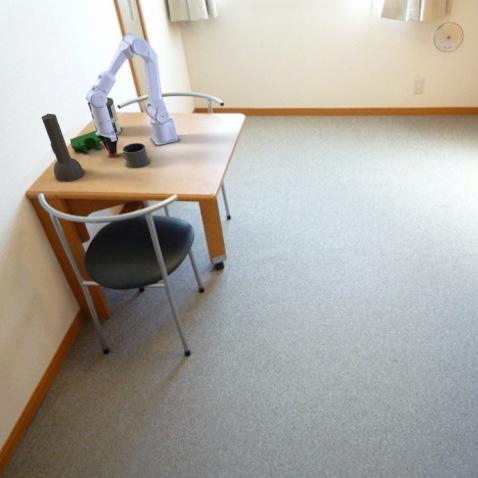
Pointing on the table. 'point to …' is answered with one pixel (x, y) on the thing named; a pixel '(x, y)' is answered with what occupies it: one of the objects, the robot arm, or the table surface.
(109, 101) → the coffee can
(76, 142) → the green notched block
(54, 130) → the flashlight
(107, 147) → the marker
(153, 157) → the table surface
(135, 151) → the cup
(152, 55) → the robot arm
